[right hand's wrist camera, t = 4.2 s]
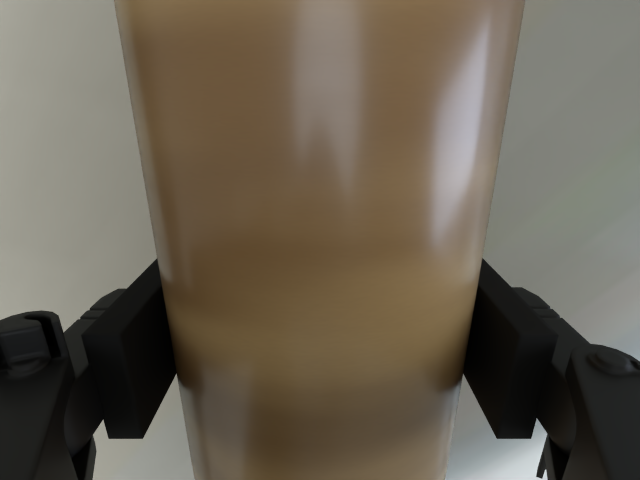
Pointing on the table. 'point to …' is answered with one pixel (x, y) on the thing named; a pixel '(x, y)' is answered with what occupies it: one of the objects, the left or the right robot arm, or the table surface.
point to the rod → (319, 220)
